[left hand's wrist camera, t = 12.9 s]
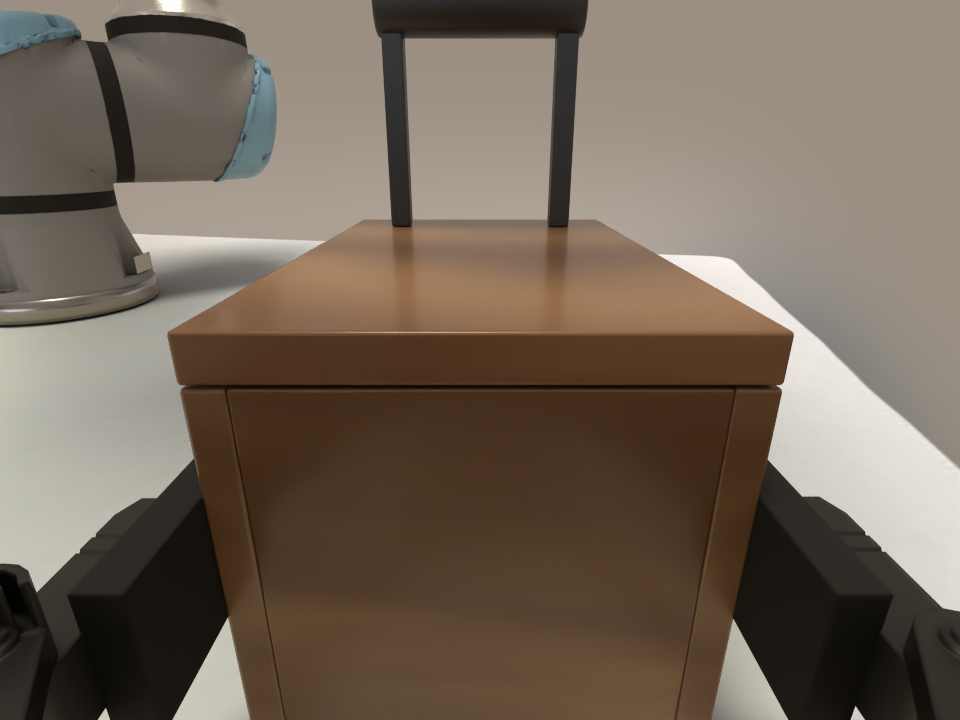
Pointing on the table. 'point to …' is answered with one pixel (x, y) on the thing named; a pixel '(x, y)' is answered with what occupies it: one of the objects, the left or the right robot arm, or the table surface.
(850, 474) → the table surface
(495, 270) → the lid
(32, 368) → the table surface
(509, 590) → the chest
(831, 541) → the left robot arm
